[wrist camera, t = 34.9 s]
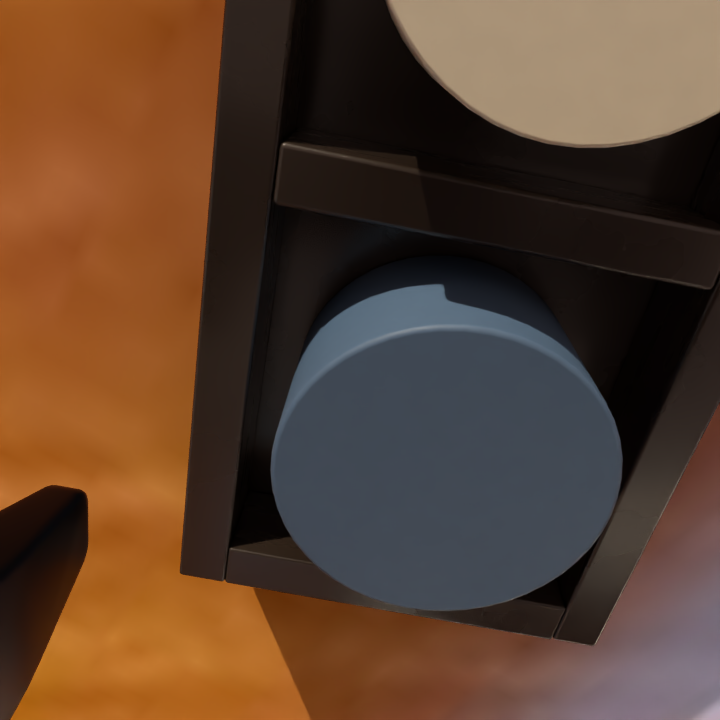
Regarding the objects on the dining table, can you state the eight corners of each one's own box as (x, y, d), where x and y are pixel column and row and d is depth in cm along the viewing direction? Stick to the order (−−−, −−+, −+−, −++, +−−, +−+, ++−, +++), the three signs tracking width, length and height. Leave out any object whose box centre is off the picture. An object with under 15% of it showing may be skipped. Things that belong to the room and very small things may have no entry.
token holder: (989, -392, 8) (1214, -557, 6) (566, 561, 15) (595, 648, 13) (317, -555, 8) (286, -797, 5) (210, 496, 15) (179, 575, 12)
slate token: (610, 284, 11) (683, 366, 8) (523, 511, 14) (557, 636, 11) (321, 227, 11) (294, 291, 8) (282, 468, 13) (251, 583, 11)
